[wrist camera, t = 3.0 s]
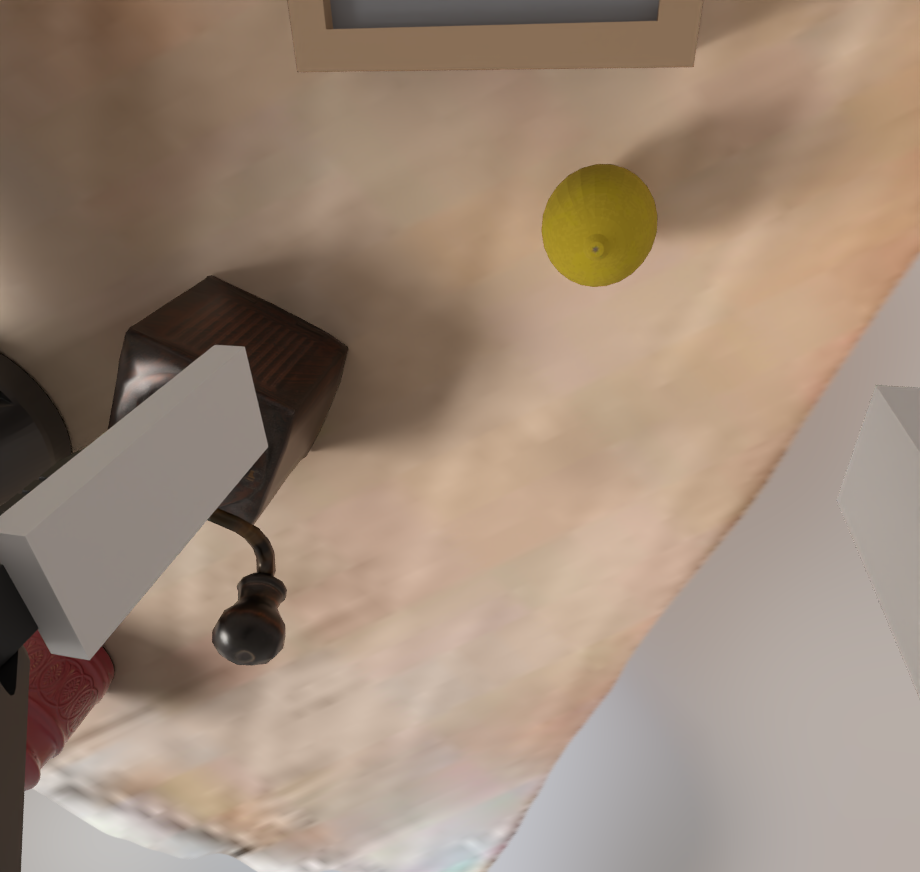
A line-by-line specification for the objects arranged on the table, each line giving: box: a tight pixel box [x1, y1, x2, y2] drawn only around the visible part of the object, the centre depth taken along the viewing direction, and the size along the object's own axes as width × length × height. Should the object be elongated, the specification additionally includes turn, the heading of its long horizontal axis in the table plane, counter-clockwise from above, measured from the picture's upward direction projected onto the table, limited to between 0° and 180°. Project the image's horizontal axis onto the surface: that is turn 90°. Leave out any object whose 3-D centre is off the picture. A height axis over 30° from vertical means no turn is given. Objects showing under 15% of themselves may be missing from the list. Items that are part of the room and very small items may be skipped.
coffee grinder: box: [108, 275, 348, 665], centre depth 39 cm, size 16×11×18 cm
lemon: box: [542, 164, 657, 287], centre depth 32 cm, size 6×6×8 cm
